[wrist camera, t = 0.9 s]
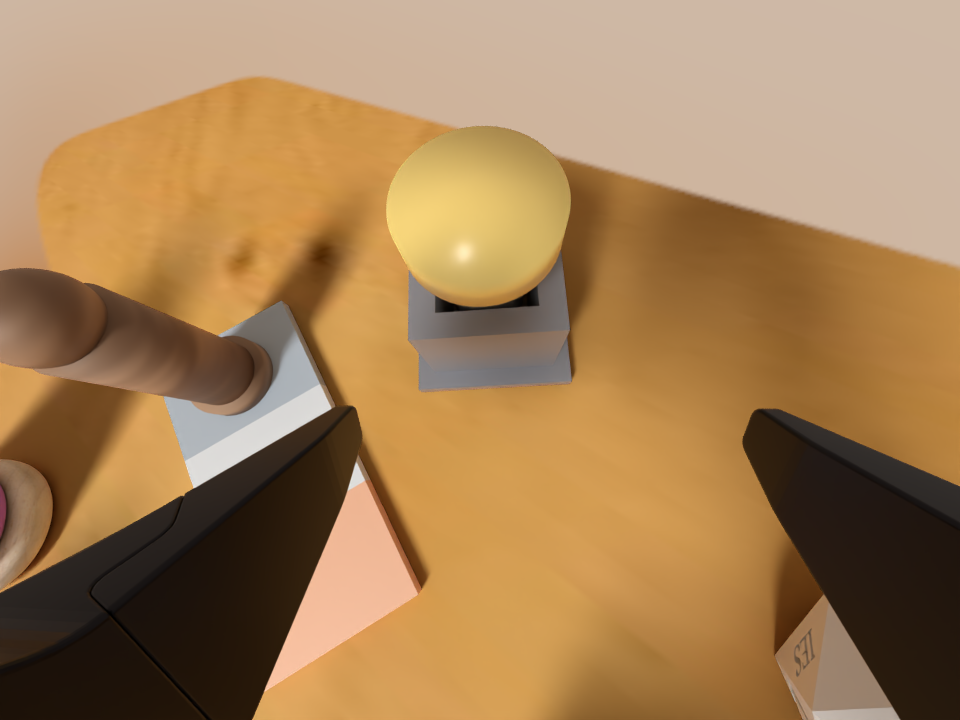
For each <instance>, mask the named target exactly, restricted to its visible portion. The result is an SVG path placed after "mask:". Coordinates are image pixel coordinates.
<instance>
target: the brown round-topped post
mask: <svg viewBox="0 0 960 720" xmlns="http://www.w3.org/2000/svg"><path fill="white" fill-rule="evenodd" d="M0 362H1V363H4V364H7V365H11V366H15V367H22V368H31V369H33V370H35V371H37V372H38V373H41V374H44V375H49V376H54V377H60V378H66V379H71V380H77V381H82V382H88V383H93V384H99V385H105V386H110V387H116V388H121V389H127V390H132V391H138V392H144V393H149V394H155V395H160V396H166V397H171V398H177V399H183V400H188V401H191V402H192V404H193V405H194V406H195V407H197V408H198V409H199V410H201V411H203V412H206V413H211V414H218V415H224V416H233V415H238V414H242V413H244V412H246V411H248V410H250V409H252V408H253V407H254V406H256V405H257V404H258V403H259V402H260V401H261V400H262V399H263V397H264V396H265V395H266V393H267V391H268V390H269V387H270V385H271V381H272V377H273V365H272V361H271V358H270V356H269V354H268V353H267V351H266V350H265V349H264V348H263V347H262V346H260V345H258V344H256V343H254V342H252V341H250V340H248V339H245V338H243V337H239V336H224V337H219V336H217V335H214V334H212V333H210V332H207V331H205V330H203V329H200V328H198V327H195V326H193V325H191V324H188V323H186V322H184V321H181V320H179V319H176V318H174V317H172V316H169V315H167V314H165V313H162V312H160V311H157V310H155V309H153V308H150V307H148V306H145V305H143V304H141V303H138V302H136V301H134V300H131V299H129V298H126V297H124V296H122V295H119V294H117V293H115V292H112V291H110V290H107V289H105V288H103V287H100V286H98V285H95V284H90V283H82V282H80V281H78V280H76V279H74V278H72V277H69V276H67V275H64V274H61V273H57V272H53V271H49V270H42V269H31V268H20V269H9V270H3V271H0Z"/></svg>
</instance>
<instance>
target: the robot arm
mask: <svg viewBox="0 0 960 720" xmlns="http://www.w3.org/2000/svg"><path fill="white" fill-rule="evenodd" d="M361 443H362V431H361V427H360V422H359V418H358V414H357V411H356V409H355V407H353V406H335V407H334V408H332V409H330V410H328V411H327V412H325V413H323V414H321V415H320V416H318V417H316V418H315V419H313V420H311V421H309V422H308V423H306V424H304V425H302V426H301V427H299V428H297V429H296V430H294V431H292V432H290V433H289V434H287V435H285V436H283V437H282V438H280V439H278V440H277V441H275V442H273V443H271V444H270V445H268V446H266V447H264V448H263V449H261V450H259V451H258V452H256V453H254V454H252V455H251V456H249V457H247V458H245V459H244V460H242V461H240V462H239V463H237V464H235V465H233V466H232V467H230V468H228V469H226V470H225V471H223V472H221V473H220V474H218V475H216V476H214V477H213V478H211V479H209V480H207V481H206V482H204V483H202V484H201V485H199V486H197V487H195V488H194V489H192V490H190V491H188V492H187V493H185V495H184V496H180V497H178V498H176V499H174V500H173V501H171V502H169V503H168V504H166V505H164V506H162V507H161V508H159V509H157V510H155V511H154V512H152V513H150V514H148V515H147V516H145V517H143V518H141V519H139V520H138V521H136V522H134V523H132V524H131V525H129V526H127V527H125V528H123V529H121V530H120V531H118V532H116V533H114V534H112V535H110V536H108V537H106V538H104V539H103V540H101V541H99V542H97V543H95V544H93V545H91V546H89V547H87V548H86V549H84V550H82V551H80V552H78V553H76V554H74V555H72V556H70V557H68V558H66V559H64V560H63V561H61V562H59V563H57V564H55V565H53V566H51V567H49V568H47V569H45V570H43V571H41V572H39V573H37V574H36V575H34V576H32V577H30V578H28V579H26V580H24V581H22V582H20V583H18V584H16V585H14V586H12V587H11V588H9V589H7V590H5V591H3V592H1V593H0V720H252V719H253V717H254V714H255V712H256V710H257V707H258V705H259V703H260V700H261V698H262V695H263V693H264V691H265V688H266V686H267V684H268V681H269V679H270V676H271V674H272V672H273V669H274V667H275V665H276V662H277V660H278V657H279V655H280V653H281V650H282V648H283V646H284V643H285V641H286V638H287V636H288V634H289V631H290V629H291V627H292V624H293V622H294V619H295V617H296V615H297V612H298V610H299V608H300V605H301V603H302V600H303V598H304V596H305V593H306V591H307V589H308V586H309V584H310V581H311V579H312V577H313V574H314V572H315V570H316V567H317V565H318V562H319V560H320V558H321V555H322V553H323V551H324V548H325V546H326V543H327V541H328V539H329V536H330V534H331V532H332V529H333V527H334V524H335V522H336V520H337V517H338V515H339V513H340V510H341V508H342V505H343V503H344V500H345V497H346V494H347V491H348V487H349V484H350V481H351V477H352V474H353V471H354V467H355V464H356V460H357V457H358V454H359V450H360V447H361ZM743 448H744V451H745V453H746V455H747V457H748V459H749V461H750V463H751V465H752V467H753V469H754V472H755V474H756V476H757V478H758V480H759V482H760V484H761V486H762V488H763V490H764V493H765V495H766V497H767V499H768V501H769V503H770V505H771V507H772V509H773V511H774V513H775V514H776V516H777V518H778V520H779V521H780V523H781V525H782V526H783V528H784V530H785V531H786V533H787V535H788V536H789V538H790V539H791V541H792V543H793V544H794V546H795V548H796V549H797V551H798V553H799V554H800V556H801V558H802V559H803V561H804V563H805V564H806V566H807V567H808V569H809V571H810V572H811V574H812V576H813V577H814V579H815V581H816V582H817V584H818V586H819V587H820V589H821V590H822V592H823V594H824V595H825V597H826V599H827V600H828V602H829V604H830V605H831V607H832V609H833V610H834V612H835V614H836V615H837V617H838V618H839V620H840V622H841V623H842V625H843V627H844V628H845V630H846V632H847V633H848V635H849V637H850V638H851V640H852V641H853V643H854V645H855V646H856V648H857V650H858V651H859V653H860V655H861V656H862V658H863V660H864V661H865V663H866V665H867V666H868V668H869V669H870V671H871V673H872V674H873V676H874V678H875V679H876V681H877V683H878V684H879V686H880V688H881V689H882V691H883V692H884V694H885V696H886V697H887V699H888V701H889V702H890V704H891V706H892V707H893V709H894V711H895V712H896V714H897V716H898V717H899V719H900V720H960V486H958V485H955V484H953V483H951V482H948V481H946V480H944V479H941V478H939V477H937V476H934V475H932V474H930V473H927V472H925V471H923V470H920V469H918V468H916V467H913V466H911V465H908V464H906V463H904V462H901V461H899V460H897V459H894V458H892V457H890V456H887V455H885V454H883V453H880V452H878V451H876V450H873V449H871V448H869V447H866V446H864V445H862V444H859V443H857V442H855V441H852V440H850V439H848V438H845V437H843V436H841V435H838V434H836V433H834V432H831V431H829V430H827V429H824V428H822V427H820V426H817V425H815V424H813V423H810V422H808V421H806V420H803V419H801V418H798V417H796V416H794V415H791V414H789V413H787V412H784V411H782V410H779V409H757V410H755V411H754V412H753V413H752V415H751V418H750V420H749V423H748V426H747V428H746V431H745V433H744V436H743Z"/></svg>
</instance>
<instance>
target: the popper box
mask: <svg viewBox="0 0 960 720" xmlns="http://www.w3.org/2000/svg"><path fill="white" fill-rule="evenodd" d="M569 331H570V325H569V316H568V307H567V298H566V290H565V281H564V272H563V263H562V254H561V250H560V253H559V256H558V258H557V260H556V263H555V264H554V266H553V267H552V269H551V271H550V272H549V273H548V274H547V276H546V277H545V278H544V279H543V280H542V281H541V282H540V283H539V284H538V285H537V286H536V287H534V288H533V289H532V290H530V291H529V292H527V293H526V294H524V295H523V300H522V304H521V306H520V307H516V308H501V309H486V310H472V311H458V310H457V308H456V306H455V304H454V303H450V302H448V301H445V300H443V299H440V298H439V297H437V296H435V295H433V294H432V293H430V292H429V291H427V290H426V289H425V288H424V287H422V286H421V285H420V284H419V283H418V282H417V281H416V279H415V278H414V277H413V275H412V274H411V272H410V271H409V312H408V341H409V342H410V343H411V344H412V345H413V347H414V348H415V349H416V350H417V351H418V353H419V390H420V391H421V392H432V391H450V390H468V389H486V388H504V387H522V386H540V385H558V384H570V383H571V382H572V378H571V369H570V360H569V351H568V342H567V335H568V333H569Z"/></svg>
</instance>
